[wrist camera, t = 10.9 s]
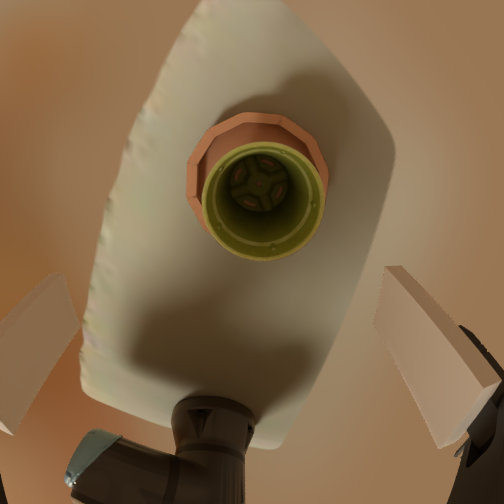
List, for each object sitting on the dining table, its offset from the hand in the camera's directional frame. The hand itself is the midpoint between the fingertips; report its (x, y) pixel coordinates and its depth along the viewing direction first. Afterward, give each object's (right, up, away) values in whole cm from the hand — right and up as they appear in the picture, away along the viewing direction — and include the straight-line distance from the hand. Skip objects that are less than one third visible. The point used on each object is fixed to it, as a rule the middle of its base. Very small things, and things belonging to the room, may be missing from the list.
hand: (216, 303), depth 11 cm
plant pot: (+2, +9, +19) cm, 21 cm away
